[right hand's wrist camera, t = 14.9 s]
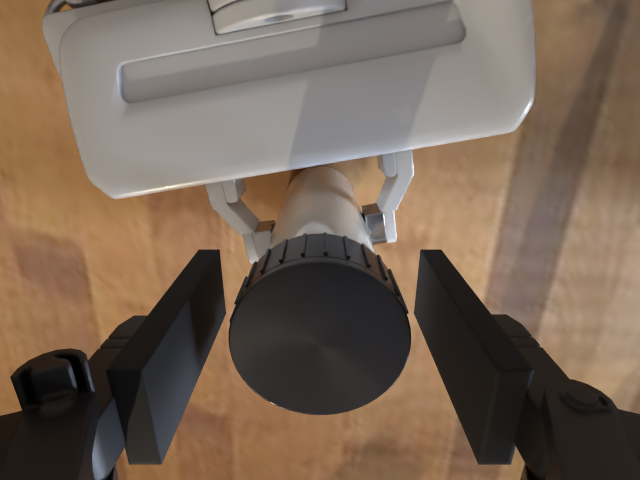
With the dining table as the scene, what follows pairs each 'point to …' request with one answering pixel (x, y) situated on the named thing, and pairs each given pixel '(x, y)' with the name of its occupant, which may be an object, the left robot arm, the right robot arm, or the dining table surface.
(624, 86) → the dining table surface
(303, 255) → the lid
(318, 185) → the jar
